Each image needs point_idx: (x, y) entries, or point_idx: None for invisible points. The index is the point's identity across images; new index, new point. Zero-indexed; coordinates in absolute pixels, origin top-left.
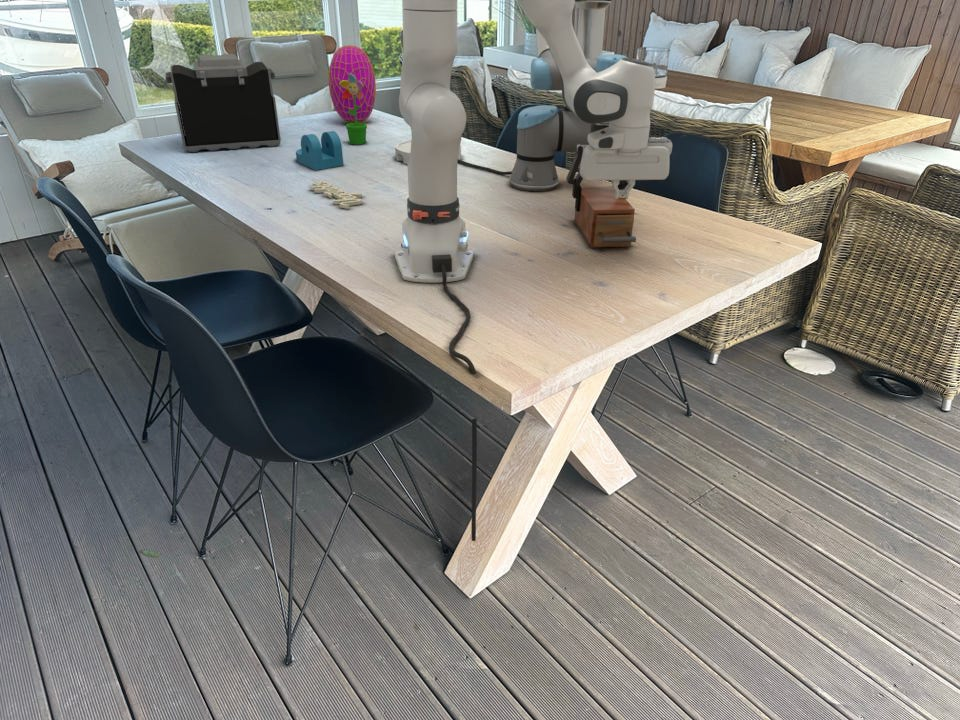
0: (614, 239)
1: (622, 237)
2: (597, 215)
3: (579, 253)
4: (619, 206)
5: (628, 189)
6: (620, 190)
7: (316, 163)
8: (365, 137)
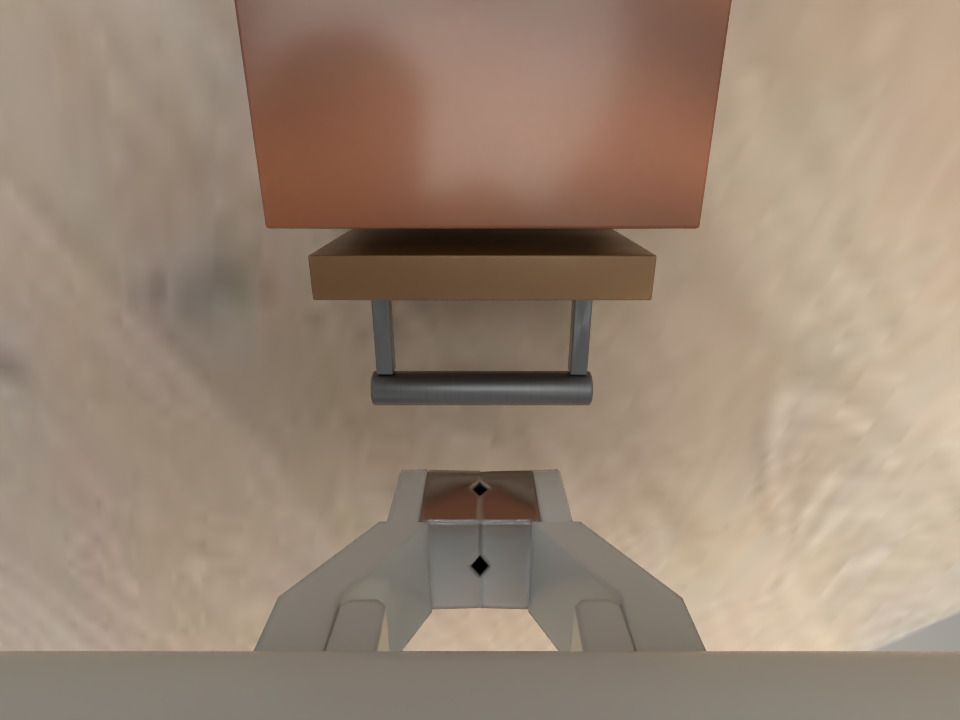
0: (448, 403)
1: (502, 401)
2: (316, 264)
3: (280, 284)
4: (569, 118)
5: (557, 637)
6: (460, 556)
7: None
8: None
